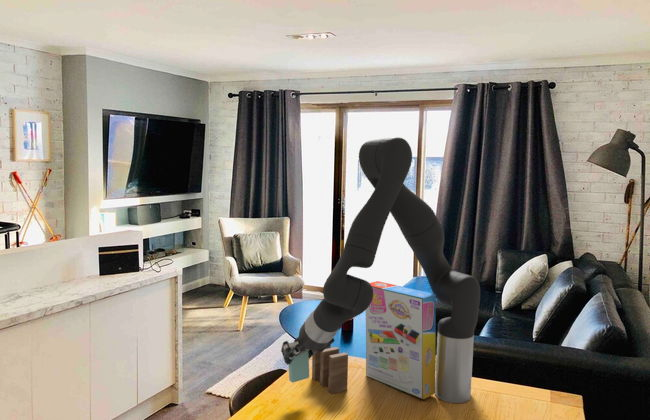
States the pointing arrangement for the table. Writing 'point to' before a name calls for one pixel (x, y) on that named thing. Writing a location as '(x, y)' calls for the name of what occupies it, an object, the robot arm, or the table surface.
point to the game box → (401, 338)
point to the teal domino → (299, 367)
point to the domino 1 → (316, 365)
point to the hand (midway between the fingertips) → (296, 358)
